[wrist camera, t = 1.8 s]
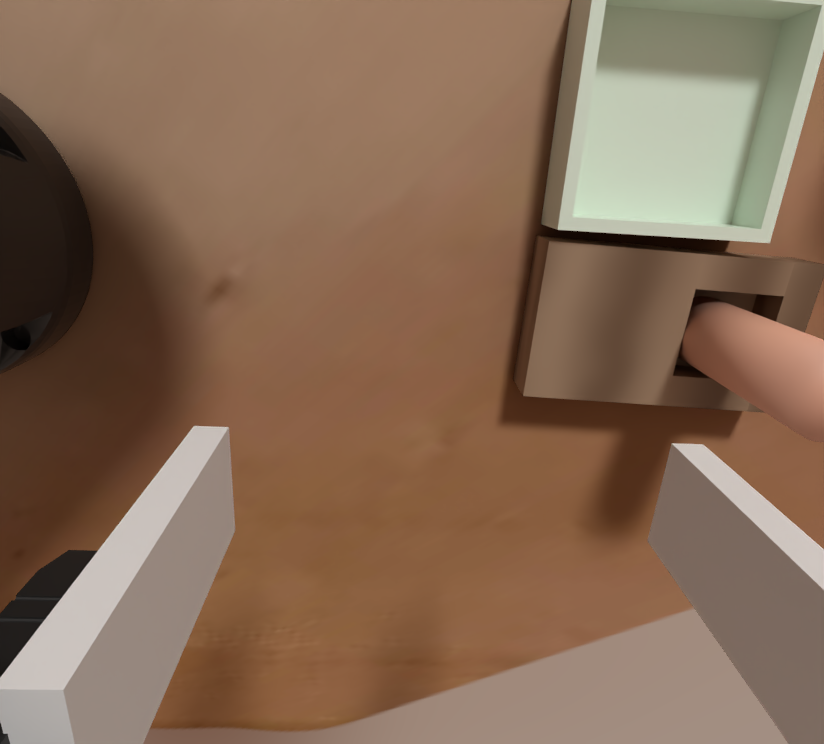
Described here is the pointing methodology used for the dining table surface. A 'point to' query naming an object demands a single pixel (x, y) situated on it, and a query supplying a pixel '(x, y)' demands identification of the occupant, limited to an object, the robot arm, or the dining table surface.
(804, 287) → the wooden block with recess
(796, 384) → the pink tapered rounded cylinder
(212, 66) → the dining table surface
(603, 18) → the tray
